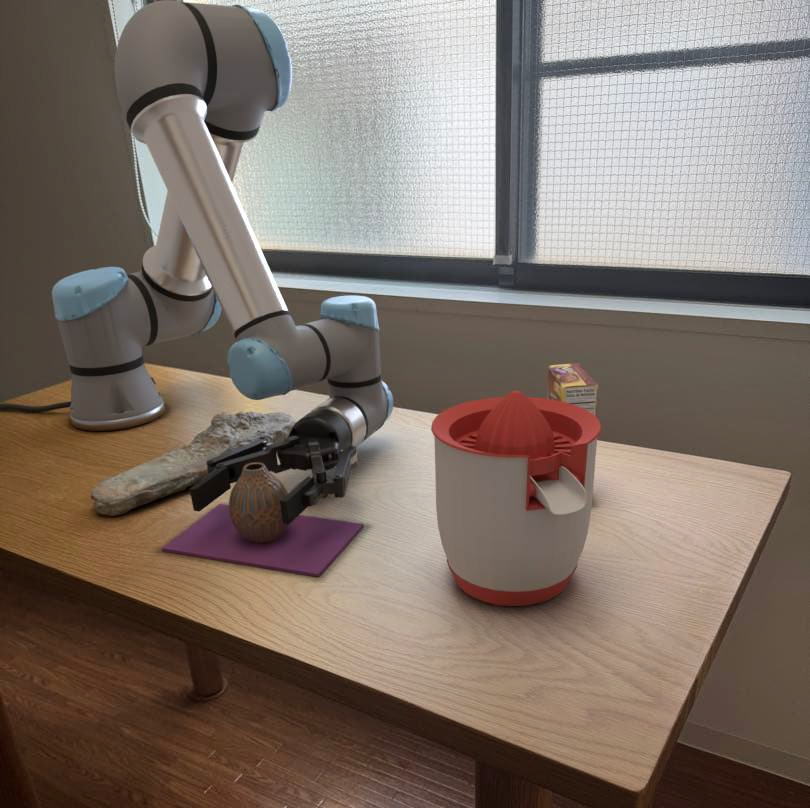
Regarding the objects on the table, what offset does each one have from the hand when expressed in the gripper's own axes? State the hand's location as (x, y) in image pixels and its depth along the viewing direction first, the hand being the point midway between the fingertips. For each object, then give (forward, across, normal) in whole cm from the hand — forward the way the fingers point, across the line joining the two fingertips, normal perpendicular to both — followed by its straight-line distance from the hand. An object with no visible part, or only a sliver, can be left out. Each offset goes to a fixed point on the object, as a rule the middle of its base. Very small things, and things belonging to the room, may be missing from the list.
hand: (238, 506), depth 83 cm
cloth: (-4, 0, -6) cm, 7 cm away
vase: (-4, 0, -6) cm, 7 cm away
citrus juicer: (-3, -30, -6) cm, 31 cm away
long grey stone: (-20, +19, -6) cm, 28 cm away
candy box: (-26, -31, -6) cm, 41 cm away
